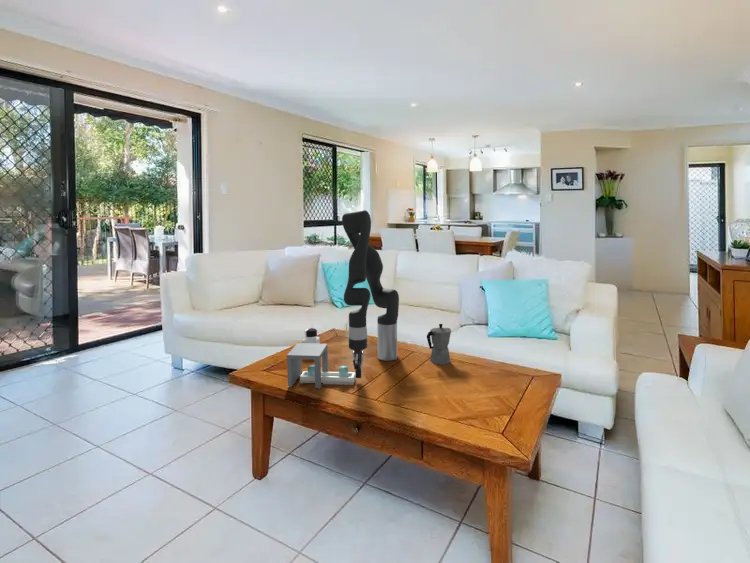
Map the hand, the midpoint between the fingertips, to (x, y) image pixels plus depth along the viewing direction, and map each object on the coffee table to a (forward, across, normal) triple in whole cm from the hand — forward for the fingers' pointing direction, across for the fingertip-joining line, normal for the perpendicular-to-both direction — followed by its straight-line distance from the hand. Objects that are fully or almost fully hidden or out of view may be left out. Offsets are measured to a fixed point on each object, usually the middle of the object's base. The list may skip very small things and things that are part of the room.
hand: (358, 377), depth 184 cm
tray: (+2, 0, +13) cm, 13 cm away
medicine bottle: (+2, +36, +28) cm, 46 cm away
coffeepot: (+2, +27, -34) cm, 43 cm away
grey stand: (+2, 0, +21) cm, 21 cm away
